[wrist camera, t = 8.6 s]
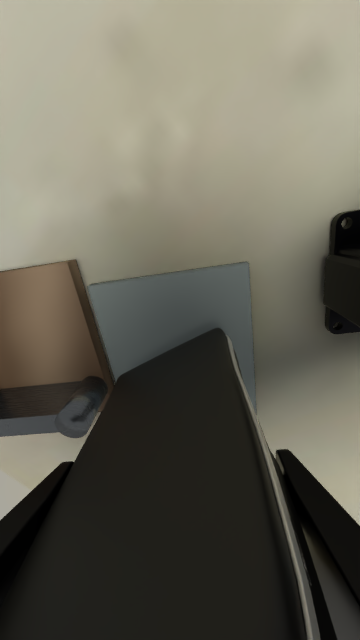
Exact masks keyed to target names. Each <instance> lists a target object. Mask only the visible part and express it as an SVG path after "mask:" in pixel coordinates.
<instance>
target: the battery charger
mask: <svg viewBox="0 0 360 640" xmlns="http://www.w3.org/2000/svg"><path fill="white" fill-rule="evenodd" d="M0 640H338V639H337V636H336V633H335V630H334V627H333V623H332V620H331V617H330V614H329V610H328V607H327V604H326V601H325V598H324V594H323V591H322V588H321V585H320V582H319V579H318V575H317V572H316V569H315V566H314V563H313V560H312V557H311V554H310V550H309V547H308V544H307V541H306V538H305V535H304V532H303V529H302V526H301V523H300V520H299V517H298V514H297V512H296V509H295V506H294V503H293V501H292V498H291V495H290V492H289V490H288V487H287V484H286V481H285V479H284V476H283V473H282V471H281V469H280V466H279V464H278V463H277V461H276V459H275V458H274V456H273V454H272V453H271V451H270V449H269V447H268V444H267V442H266V439H265V436H264V434H263V431H262V428H261V426H260V423H259V420H258V418H257V415H256V413H255V410H254V407H253V405H252V403H251V400H250V397H249V395H248V392H247V390H246V387H245V384H244V381H243V378H242V374H241V370H240V367H239V362H238V359H237V355H236V352H235V350H234V349H233V346H232V342H231V340H230V338H229V336H228V335H225V333H224V331H223V330H222V329H221V328H214V329H212V330H210V331H207V332H205V333H203V334H201V335H199V336H197V337H195V338H193V339H191V340H189V341H187V342H185V343H183V344H181V345H179V346H177V347H175V348H173V349H171V350H169V351H166V352H164V353H162V354H161V355H159V356H157V357H155V358H153V359H151V360H149V361H147V362H145V363H143V364H141V365H139V366H137V367H135V368H133V369H131V370H129V371H127V372H125V373H123V374H122V375H120V376H119V377H118V379H117V382H116V384H115V386H114V388H113V390H112V392H111V394H110V396H109V398H108V400H107V402H106V404H105V406H104V408H103V410H102V412H101V414H100V416H99V418H98V420H97V421H96V423H95V425H94V427H93V429H92V430H91V432H90V434H89V436H88V438H87V440H86V441H85V443H84V445H83V447H82V449H81V451H80V453H79V454H78V456H77V458H76V460H75V462H74V464H73V466H72V467H71V469H70V471H69V473H68V475H67V477H66V479H65V481H64V482H63V484H62V486H61V488H60V490H59V492H58V494H57V496H56V498H55V500H54V502H53V504H52V505H51V507H50V509H49V511H48V513H47V515H46V517H45V519H44V521H43V523H42V525H41V527H40V529H39V531H38V533H37V535H36V537H35V539H34V541H33V543H32V545H31V547H30V549H29V551H28V553H27V555H26V557H25V559H24V561H23V563H22V565H21V567H20V569H19V571H18V573H17V575H16V577H15V579H14V581H13V583H12V585H11V587H10V589H9V591H8V593H7V595H6V597H5V599H4V601H3V603H2V605H1V607H0Z"/></svg>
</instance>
